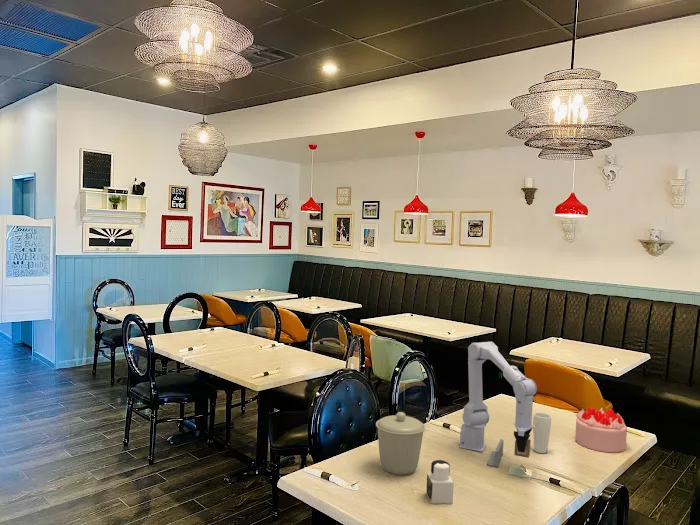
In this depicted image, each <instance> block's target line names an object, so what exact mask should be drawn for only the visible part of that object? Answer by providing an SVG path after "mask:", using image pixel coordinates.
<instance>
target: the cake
mask: <svg viewBox="0 0 700 525" xmlns="http://www.w3.org/2000/svg"><path fill="white" fill-rule="evenodd" d="M575 416H576V420H575V433H574V434H575V436H574V437H575V438H574V439H575V441H576V443H577V444H579V445H580V446H582V447H585V448H586V449H589V450H593V451H597V452H602V453H610V454H611V453H613V454H614V453H621V452H623V451H625V450H626V447H627V437H628V436H627V433H628V427H627V426H626V424H625V421H624V419H623V418H622V416H621V415H620V414H619V412H616V413H615V411H614V410H613V409H611V408H609V409H607V410H606V412H605V411H604V409H603V407H601V408H600V409H599V410H597V411H596V409H595V408H594V407H593V406H589V407H588V408H587V409H586V410H584V408H582V409H581V410H580V411H578V412H577V413H576V414H575Z"/></svg>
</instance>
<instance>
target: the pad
mask: <svg viewBox="0 0 700 525" xmlns="http://www.w3.org/2000/svg"><path fill="white" fill-rule="evenodd" d="M520 467H521V466H517V465H514V464H513V465H510V467H509V470H508V473H507V474H508V475H510V476H515V477H520V478H525V479H529V478H530V480H531V479H532V478H533V475H532V476H529V475H527V474H526V473H525V472H524V471H523V470H522V469H521V468H520Z"/></svg>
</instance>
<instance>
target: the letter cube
mask: <svg viewBox="0 0 700 525" xmlns="http://www.w3.org/2000/svg"><path fill="white" fill-rule="evenodd" d="M531 441H532V440H531V439H530V438H529V439H528V440H527V443H526V448H525V451H524V453H523V452H518V448H517V442H516V439H515V442H514V456H516V457H521V458H527V459H529V458H530V454H531V443H532V442H531Z"/></svg>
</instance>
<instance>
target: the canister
mask: <svg viewBox="0 0 700 525" xmlns="http://www.w3.org/2000/svg"><path fill="white" fill-rule="evenodd" d="M375 427H376V428H377V438H378V440H377V441H378V452H379V462H380V465H381V467H382V469H383V470H384V471H386V472H387V473H389V474H393V475H399V476H400V475H402V476H404V475H405V476H406V475H409V474H413V473H414V472H415V471H416V469H417V468H418V466H419V460H420V455H421V449H422V443H423V435H424V432H425V430H426V425H425V424H424V423H423V422H421V420H419V419H417V418H415V417H412V416H408V415H406V413H405V412H403V411H398V412H397V413H396V414H395V415H393V414H392V415H388V416H384V417H382V418H379V419H378V420H377V421H376V422H375Z"/></svg>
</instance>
